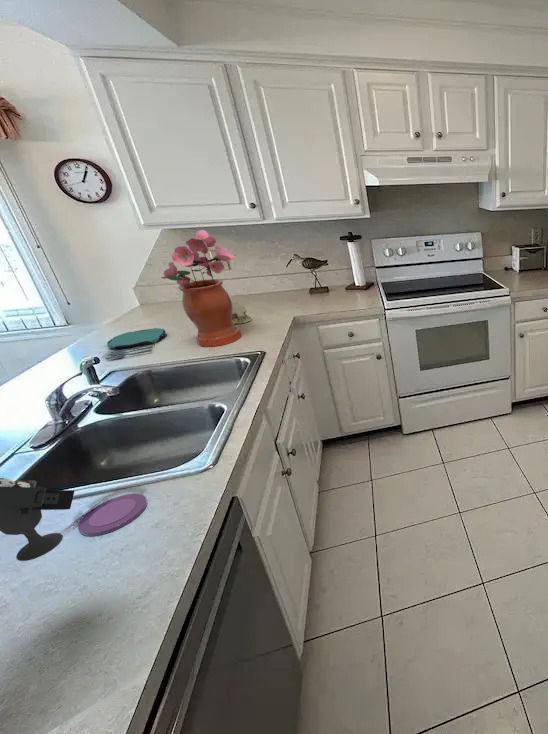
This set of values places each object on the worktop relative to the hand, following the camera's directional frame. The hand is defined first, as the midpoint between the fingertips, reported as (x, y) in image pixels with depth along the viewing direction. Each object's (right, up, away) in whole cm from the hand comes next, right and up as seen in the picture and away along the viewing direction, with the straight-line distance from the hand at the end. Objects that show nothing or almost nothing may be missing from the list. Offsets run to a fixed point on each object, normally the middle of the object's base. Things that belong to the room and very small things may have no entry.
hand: (42, 502), depth 62 cm
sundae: (0, -7, -1) cm, 7 cm away
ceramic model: (-58, +39, +134) cm, 151 cm away
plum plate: (-12, -11, +25) cm, 30 cm away
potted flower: (-49, +30, +114) cm, 128 cm away
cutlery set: (-85, +27, +111) cm, 142 cm away
